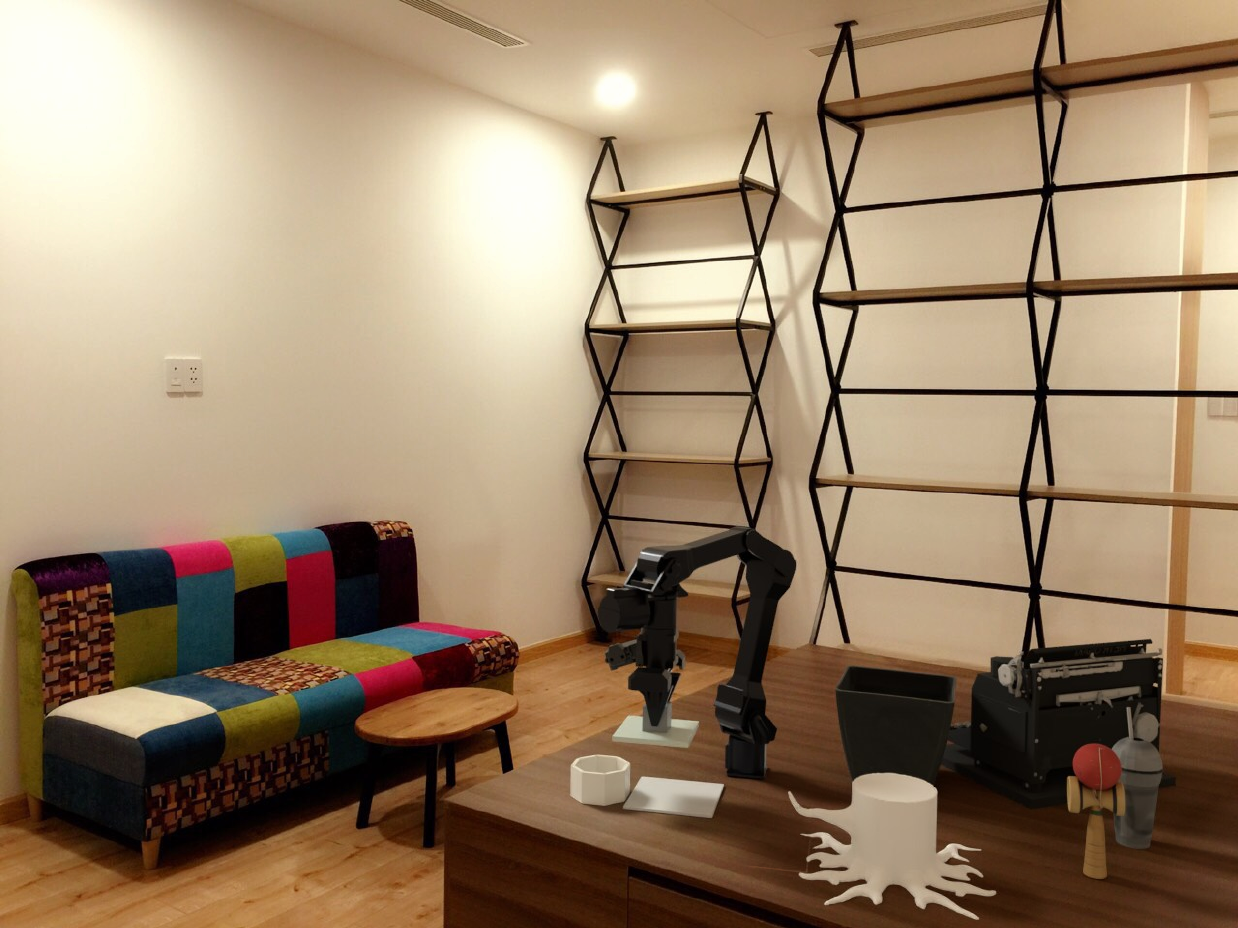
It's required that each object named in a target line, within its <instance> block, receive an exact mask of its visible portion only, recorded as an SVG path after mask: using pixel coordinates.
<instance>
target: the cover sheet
mask: <svg viewBox="0 0 1238 928" xmlns="http://www.w3.org/2000/svg"><path fill="white" fill-rule="evenodd" d="M672 707H673V702H672V701H670V702H668V701H667V704H666V706H665V709H664V712H663V714H662V717H661V719H660V722H659V724H658V726H657V727H656V726H651V724H650V719H649V715H648V711H647V706H646V702H645V703H644V704H643V705H642V716H639V715H627V717H626V718H625V719H624V720H623V722H622V723H621V724H620V726H619V727H618V728H617V730H615V732H614V733H613V735H612V736H611V737H612V739H611V741H612V742H615V743H616V742H617V743H628V744H631V743H632V744H638V745H639V744H641V745H651V746H663V747H672V748H673V747H675V748H686V749H688V748H689V747H690V745H691V744H692V741H693V739H694V737H695V735H696V733H697V731H698V729H699V726H700V721H699V720H688V719H687V720H685V719H676V718H675V719H674V718H672Z"/></svg>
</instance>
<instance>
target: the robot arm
mask: <svg viewBox="0 0 1238 928" xmlns="http://www.w3.org/2000/svg"><path fill="white" fill-rule="evenodd" d="M735 556H736V557H737V559H738V560H739V561H740V562H741V563H742V564H744V565H745V582H746V584H747V588H748V590H749V599H748V604H747V610H746V614H745V619H744V623H743V628H742V632H741V637H740V642H739V645H738V651H737V656H736V660H735V666H734V671H733V675H732V676H731V678H730V679H729V680H728V681H727V682H726V684H724V683H721V682H720V683H719V684H718V686H717V690H716V698H715V700H714V702H713V704H712V705H713V707H715V708H714V716H715V718H716V719H717V722H718V724H719V727H720V730H721V733H722V734H727V735H729V736H728V741H727V742H726V743H725V746H724V752H725V753H724V768H725V769H727V770H726V774H725V775H726V776H729V777H730V776H731V777H741V778H749V779H760V780H761V779H762V780H763V779H765V778H766V774H767V771H768V763H767V745H769V744H770V742H773V741H775V739H776V734H777V730H778V728H777V726H776V725H775V724H774V723H773V722H772V721H771V720H770V718H769V717H768V716H767V715H766V711H767V710H766V708H767V697H766V695H765V691H764V687H763V684H762V682H763V675H764V670H765V668H766V667H765V666H766V662H767V658H768V657H767V656H768V652H769V648H770V642H771V637H772V633H773V629H774V628H773V627H774V625H775V619H776V613H777V609H778V605H779V601H780V600H781V599H782V598H783V596H784V595H785V594H786V593H787V591H788V590H790V588H791V585H792V583H793V579H794V576H795V573H796V571H797V559H795V556H794V555H793V553H792V552H791V551H790V550H788V549H784V548H782V547H781V546H780V545H778V544H777V543H775V542H773V541H771V540H769V539H768V538H766V537H765V536H763V535H762V534H761V533H760V532H758V531H757V530H756V529H755V528H751V527H745V526H744V527H743V526H733V527H731V528H729V529H728V530H725V531H721V532H718V533H716V534H713V535H710V536H706V537H704V538H699V539H697V540H694V541H690V542H688V543H685V544H677V545H657V546H655V545H654V546H647V547H645V548H643V549H642V550H641V551H640V552H639V556H638V557H637V560H636V562H635V564H634V565H633V567H632V569H631V571H630V572H629V575H628V576H627V578H626V579H625V582H624V583H623V585H622V587H620V588H616V587H608V588H606V596H604V597H602V599H601V601H600V603H599V606H598V608H597V617H598V622H599V624H600V626H601V628H602V629H603V630H604V631H605V632H606V633H609V634H610V633H618V632H627V631H633V630H641V631H640V632H639V633H638V634H637V635H636V639H633V640H629V641H626V642H623V643H622V642H621V643H620V642H617V643H616V644H610V645H609V646H608V648H607V649H606V650H605V651H604V655H605V659H604V662H605V663H606V664H608V667H609V668H610V669H609V670H610V671H611V672H612V671H615V670H618V669H619V668H621V667H622V668H623V667H626V666H628V665H632V664H635V667H636V668H635V670H633V671H632V672H631V674H630V675H628V676H627V689H628V690H630V691H636V692H640V694H642V695H643V698H644V701H645V703H646V706H647V711H648V715H649V719H650V724H651V726H656V727H657V726H658V724H659V722H660V719H661V717H662V714H663V712H664V709H665V706H666V704H667V701H668V702H671V699H672V698H673V695H674V692H675V690H676V687H677V686H678V683H679V681H680V678H681V676H682V673H681V672H674V671H673V669H674V668H675V667H678V669H679V670H681V671H683V670H684V669H685V668H686V655H685V653H684V652H683V651H682V650H681V649H677V639H678V638H680V637H679V634H680V630H678V625H677V624H678V599H681V598H688V596H689V592H687V590H685V588H684V587H683V586H681V583H682V582H684V581H686V580H687V579H689V578H690V577H691V576H692V574H693V573H694V572H695V571H696V570H698V569H699V568H700V569H701V568H703V567H705V566H708V565H712V564H714V563H717V562H720V561H723V560H727V559H729V558H733V557H735Z"/></svg>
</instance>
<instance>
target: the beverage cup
mask: <svg viewBox="0 0 1238 928" xmlns="http://www.w3.org/2000/svg"><path fill="white" fill-rule="evenodd" d="M1127 717H1128V728H1129V737H1126V738H1123V739H1121V740H1119V741H1118V742H1117V743H1116V744H1115V745H1114V746H1113V748H1112V750H1113V751H1114V752H1115V753H1116V755H1117V756H1118V758H1119V760H1120V762H1121V766H1122V772H1121V777H1120V779H1119V781H1118V782H1122V783H1123V786H1124V791H1125V814H1124V816H1117V815H1115V814H1114V813H1113V823H1114V824H1113V825H1114V835H1115V841H1116V842H1117V843H1118V844H1119V845H1121V846H1125V847H1126V848H1130V849H1135V850H1136V849H1137V850H1145V849H1148V848H1150V847H1151V841H1152V837H1153V832H1154V831H1153V830H1154V823H1155V816H1156V815H1155V814H1156V808H1157V802H1158V801H1157V800H1158V792H1159V788H1158V787H1159V784H1160V781H1161V777H1162V772H1165V771H1164V770H1165V769H1164V767H1163V761H1162V760H1163V759H1162V757H1161V755H1160V751H1159V752H1158V751H1157V749H1156V748H1155V746H1153V745H1152V744H1151V743H1150V742H1148V741H1147V740H1145V739H1143V738H1140V737H1133V729H1132V719H1131V709H1130V707H1127Z"/></svg>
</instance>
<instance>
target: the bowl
mask: <svg viewBox="0 0 1238 928" xmlns="http://www.w3.org/2000/svg"><path fill="white" fill-rule="evenodd" d="M569 786H570V789H569V790H570V791H569V793H570V794H569V796H570V797H571V798H573V799H574V800H576V801H577V802H578V803H581V804H584V805H594V806H602V807H605V806H610V805H613V804H619V803H624V802H626V801H627V799H628V798H629V796H630V795H631V762H629V761H628V760H625V759H624V758H622V757H620V756H618V755H617V756H616V755H607V754H605V755H604V754H593V755H592V754H591V755H586V756H581V757H577V758H576V759H575V760H574V761H573V762H572V763H571V764H570V785H569Z"/></svg>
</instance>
